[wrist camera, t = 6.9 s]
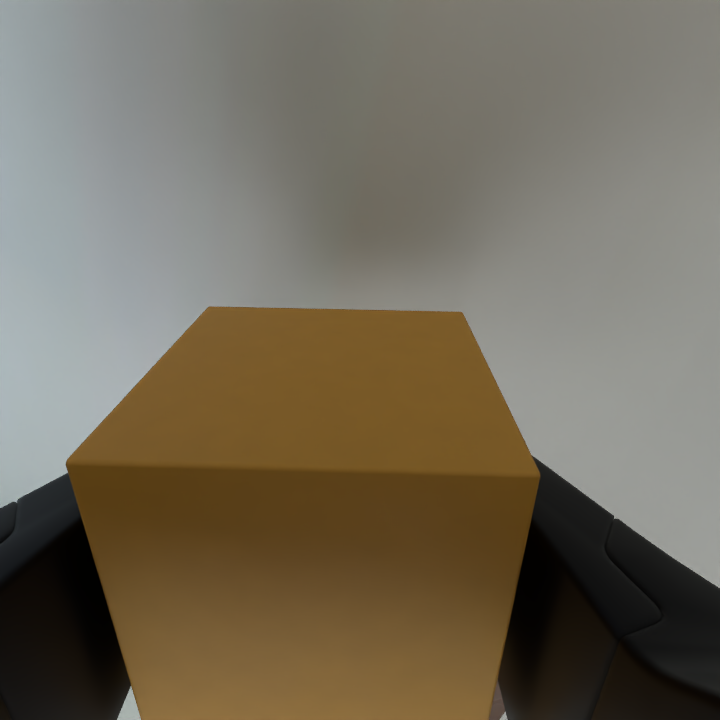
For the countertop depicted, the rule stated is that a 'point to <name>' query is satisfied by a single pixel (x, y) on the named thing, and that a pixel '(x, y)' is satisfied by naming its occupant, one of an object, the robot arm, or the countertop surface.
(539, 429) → the countertop surface
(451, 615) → the ochre cube
